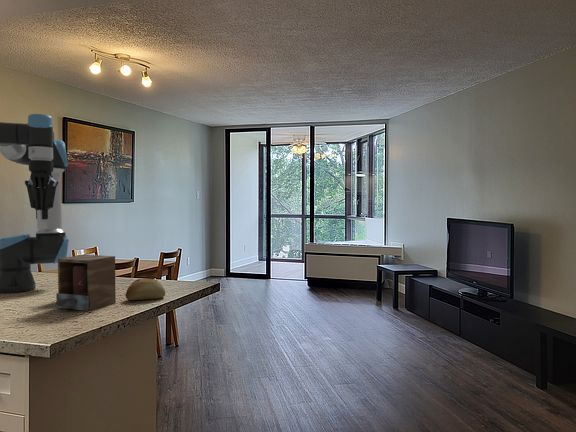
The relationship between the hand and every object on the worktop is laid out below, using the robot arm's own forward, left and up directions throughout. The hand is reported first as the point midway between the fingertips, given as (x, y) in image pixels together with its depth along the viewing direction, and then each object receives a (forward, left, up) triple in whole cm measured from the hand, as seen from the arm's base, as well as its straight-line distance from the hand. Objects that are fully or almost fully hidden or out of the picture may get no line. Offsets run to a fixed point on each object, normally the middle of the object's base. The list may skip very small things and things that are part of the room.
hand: (42, 228), depth 163 cm
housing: (+8, +12, -28) cm, 32 cm away
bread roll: (+21, +28, -29) cm, 45 cm away
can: (+8, +10, -28) cm, 30 cm away
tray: (+8, +9, -28) cm, 31 cm away
